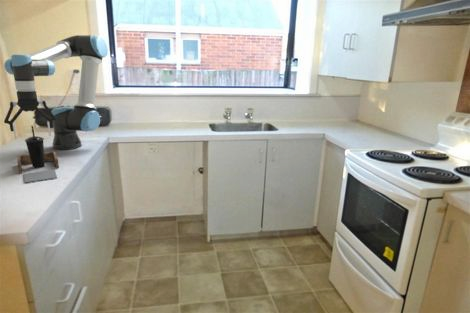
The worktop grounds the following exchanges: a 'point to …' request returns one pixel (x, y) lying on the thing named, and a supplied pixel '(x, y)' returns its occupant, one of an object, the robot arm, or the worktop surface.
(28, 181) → the mat
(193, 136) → the worktop surface
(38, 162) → the drinking cup
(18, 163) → the open wooden frame
